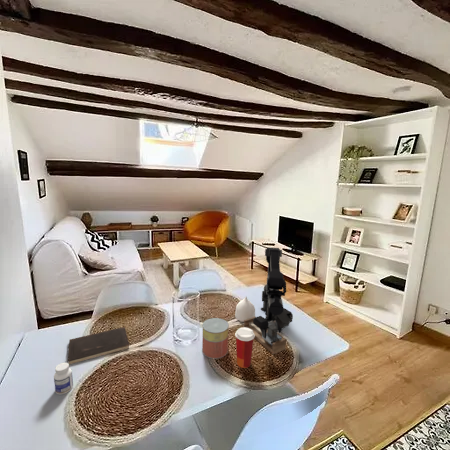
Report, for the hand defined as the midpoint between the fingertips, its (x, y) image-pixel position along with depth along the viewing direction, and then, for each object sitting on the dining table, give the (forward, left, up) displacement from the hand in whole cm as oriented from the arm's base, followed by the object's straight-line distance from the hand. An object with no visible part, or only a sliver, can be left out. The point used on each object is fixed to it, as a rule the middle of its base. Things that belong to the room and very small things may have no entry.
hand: (272, 335), depth 115 cm
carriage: (0, 0, -3) cm, 3 cm away
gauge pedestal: (-11, +12, -5) cm, 17 cm away
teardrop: (-26, +4, -5) cm, 27 cm away
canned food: (-10, -24, -5) cm, 26 cm away
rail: (-6, 0, -5) cm, 8 cm away
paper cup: (+3, -18, -5) cm, 19 cm away
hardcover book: (-38, -67, -6) cm, 77 cm away
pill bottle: (-18, -80, -5) cm, 82 cm away
